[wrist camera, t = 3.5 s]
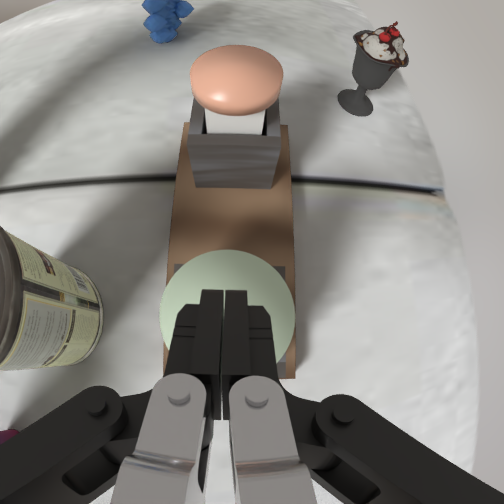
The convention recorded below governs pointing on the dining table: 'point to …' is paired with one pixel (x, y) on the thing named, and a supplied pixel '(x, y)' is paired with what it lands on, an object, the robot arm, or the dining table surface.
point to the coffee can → (44, 309)
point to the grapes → (165, 18)
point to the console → (235, 201)
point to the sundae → (373, 66)
